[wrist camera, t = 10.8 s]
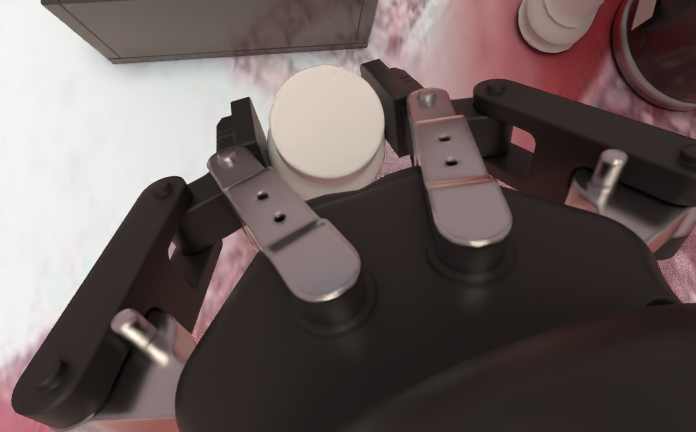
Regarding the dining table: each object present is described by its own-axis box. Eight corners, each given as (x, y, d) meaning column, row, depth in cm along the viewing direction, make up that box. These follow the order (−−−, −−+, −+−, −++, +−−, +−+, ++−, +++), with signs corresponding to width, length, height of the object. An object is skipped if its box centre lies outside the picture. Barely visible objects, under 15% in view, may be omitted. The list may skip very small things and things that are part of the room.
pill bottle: (386, 177, 18) (431, 134, 11) (318, 229, 18) (313, 225, 10) (334, 109, 18) (341, 18, 11) (265, 160, 18) (220, 104, 10)
